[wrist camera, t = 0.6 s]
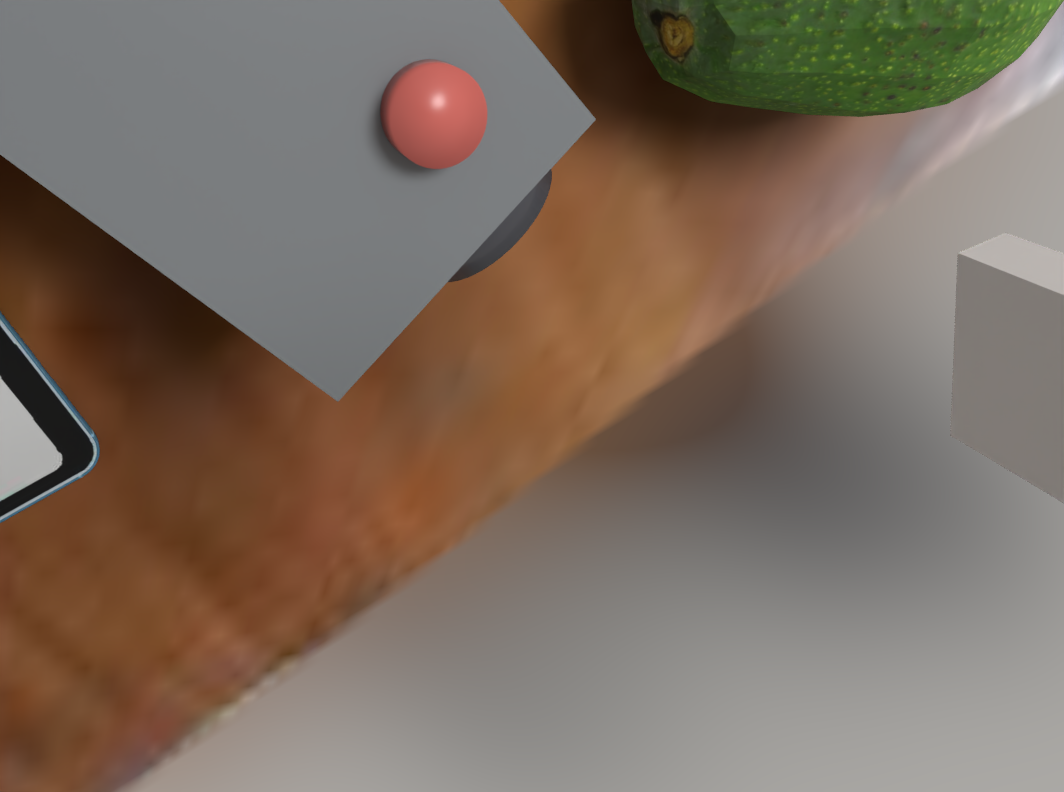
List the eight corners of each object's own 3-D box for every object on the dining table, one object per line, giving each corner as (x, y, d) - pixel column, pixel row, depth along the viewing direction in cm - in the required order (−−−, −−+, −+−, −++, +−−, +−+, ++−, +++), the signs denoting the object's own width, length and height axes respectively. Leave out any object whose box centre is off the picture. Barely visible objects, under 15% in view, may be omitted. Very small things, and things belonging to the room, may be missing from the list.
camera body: (-291, -142, 23) (-436, -146, 16) (-4, -476, 23) (-11, -644, 15) (313, 327, 34) (397, 455, 27) (512, 109, 34) (652, 177, 27)
